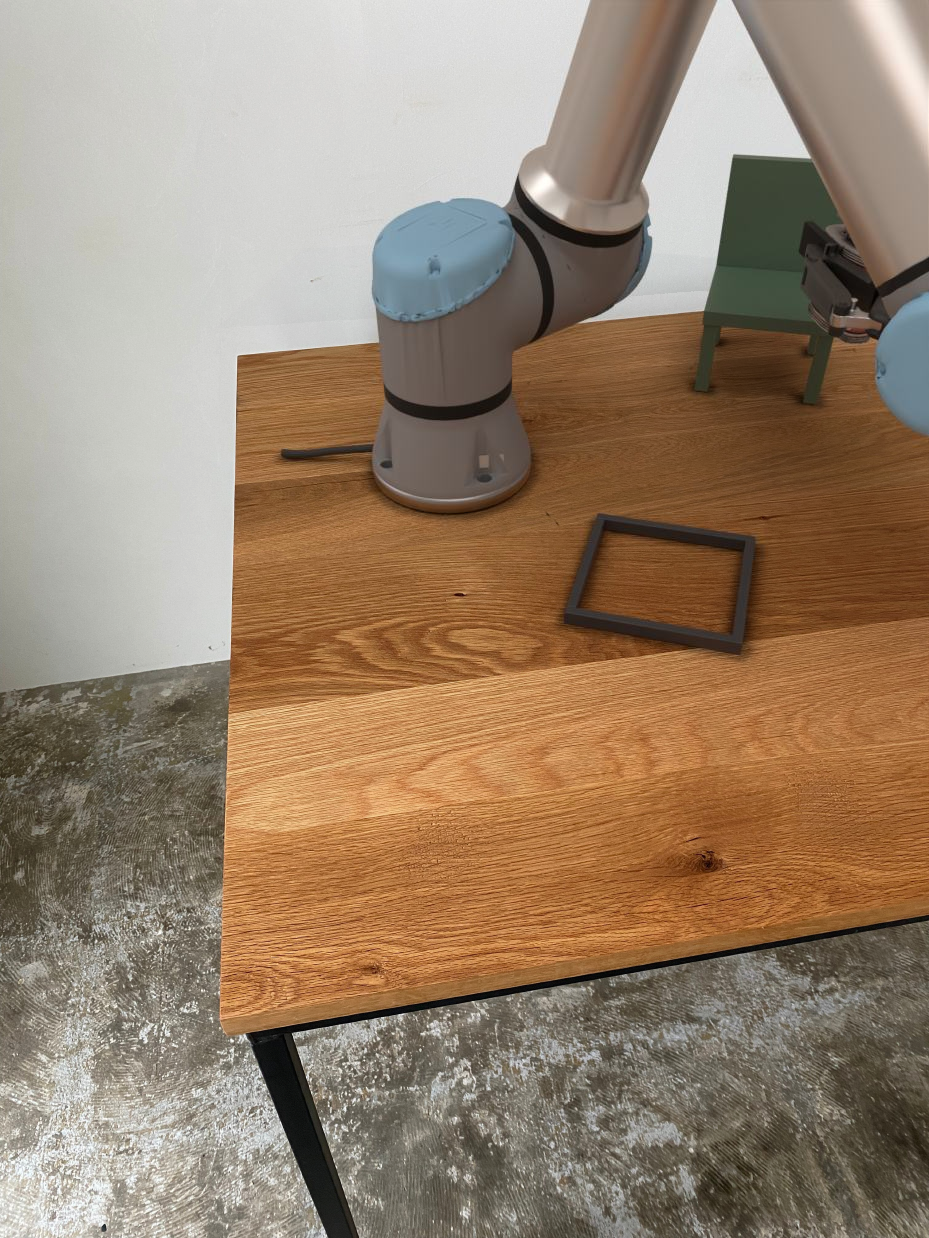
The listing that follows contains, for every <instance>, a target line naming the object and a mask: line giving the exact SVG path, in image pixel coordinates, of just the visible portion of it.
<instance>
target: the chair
mask: <svg viewBox="0 0 929 1238" xmlns="http://www.w3.org/2000/svg"><path fill="white" fill-rule="evenodd" d="M727 185H728V186H727V191H726V198H725V203H724V204H725V205H724V212H723V219H722V225H721V230H720V238H719V244H718V250H717V255H716V256H717V257H716V262H715V263H716V264H715V267H714V272H713V275H712V279H711V283H710V287H709V290H708V294H707V298H706V302H705V306H704V310H703V314H702V321H701V325H703V329H702V336H701V342H700V343H701V344H700V349H699V357H698V363H697V370H696V375H695V376H696V377H695V383H694V391H696V392H705V393H708V392H709V387H710V382H711V376H712V369H713V362H714V358H715V357H714V356H715V352H716V351H715V350H716V346H719V344H720V339H721V333H722V328H732V329H740V330H741V329H743V330H752V331H763V332H772V333H773V332H774V333H782V334H783V333H784V334H793V335H802V336H809V341H808V344H807V350H806V353H807V355H811V356H812V360H811V363H810V368H809V371H808V372H809V373H808V376H807V380H806V385H805V390H804V394H803V400H802V403H803V404H806V405H807V404H808V405H816V406H817V405H818V403H819V398H820V395H821V390H822V387H823V383H824V379H825V375H826V371H827V367H828V362H829V358H830V355H831V350H832V347H833V342H834V339H836V338H835V337H833V336H830V335H829V334H828V332H826V331H825V330H824V329H822V328H821V327H820V326H819V325H818V324H817V323H816V322H815V321H814V320H813V319H812V317H811V316H810V315H809V313H808V306H809V301H810V300H809V299H808V297H807V296H806V295H805V294H804V292H803V291H802V290H801V288H800V284H801V279H802V275H803V270H804V265H805V263H804V257H803V256H802V255H801V254H800V253H799V252H798V251H799V247H800V242H801V237H802V232H803V227H804V223H805V222H808V221H813V222H814V223H815V224H817V225H818V226H819V227H820V228H821V229H822V230H823V231H824V232H825V229H826V227H827V226H830V225H835V224H844V223H843V221H842V219H841V218H840V217H838V216H837V213H838V211H837V209H836V207H835V205H834V203H833V201H832V199H831V197H830V195H829V193H828V191H827V189H826V187H825V185H824V183H823V181H822V179H821V177H820V175H819V173H818V171H817V169H816V167H815V165H814V163H813V161H812V159H811V157H810V158H807V157H792V156H791V157H790V156H789V157H788V156H771V155H769V156H768V155H755V154H753V155H752V154H737V153H734V154H733V155H732V158H731V164H730V171H729V178H728V184H727Z"/></svg>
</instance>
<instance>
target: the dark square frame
mask: <svg viewBox="0 0 929 1238" xmlns="http://www.w3.org/2000/svg"><path fill="white" fill-rule="evenodd" d="M604 530H605V531H610V532H616V533H624V534H631V535H637V536H644V537H649V538H655V539H662V540H668V541H669V540H671V541H676V542H681V543H688V544H689V543H690V544H695V545H702V546H708V547H714V548H721V549H726V550H727V549H728V550H735V551H741V552H742V558H741V559H742V560H741V565H740V573H739V581H738V587H737V594H736V602H735V608H734V616H733V624H732V629H731V634H729V633H724V632H718V631H713V630H708V629H707V630H706V629H700V628H695V627H689V626H685V625H684V626H683V625H678V624H671V623H666V622H661V621H655V620H650V619H649V620H648V619H644V618H637V617H631V616H627V615H621V614H614V613H609V612H604V611H597V610H591V609H586V608H580V606H581V603H582V599H583V596H584V593H585V590H586V587H587V584H588V581H589V578H590V575H591V571H592V568H593V565H594V562H595V559H596V555H597V553H598V550H599V546H600V543H601V540H602V537H603V534H604V532H605V531H604ZM756 540H757V537H756V536H755V535H749V534H748V535H747V534H741V533H736V532H728V531H721V530H716V529H707V528H701V527H694V526H689V525H682V524H674V523H668V522H661V521H656V520H655V521H654V520H647V519H642V518H635V517H634V518H633V517H628V516H622V515H614V514H608V513H600V512H598V513H597V514H596V516H595V520H594V523H593V525H592V529H591V531H590V534H589V537H588V540H587V544H586V546H585V550H584V552H583V556H582V559H581V562H580V564H579V567H578V571H577V573H576V576H575V580H574V583H573V586H572V589H571V592H570V594H569V597H568V600H567V602H566V607H565V609H564V612H563V623H564V624H567V625H573V626H578V627H579V626H580V627H583V628H588V629H589V628H590V629H596V630H600V631H606V632H610V633H616V634H623V635H629V636H633V637H640V638H645V639H650V640H655V641H661V642H667V643H672V644H679V645H683V646H684V645H685V646H689V647H695V648H701V649H706V650H711V651H712V650H713V651H717V652H722V653H728V654H733V655H734V654H735V655H741V652H742V648H743V643H744V637H745V629H746V621H747V612H748V604H749V595H750V589H751V580H752V572H753V566H754V565H753V564H754V557H755V548H756Z"/></svg>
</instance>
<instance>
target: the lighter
mask: <svg viewBox="0 0 929 1238" xmlns="http://www.w3.org/2000/svg"><path fill="white" fill-rule="evenodd" d="M837 216H838V217H840V215H839V213H837ZM840 218H841V217H840ZM825 232H826V233H827V234H828V235H829V236H830V237H831V238H832V239H833V240H834V241H836V242H837V243H838V244H840V246H841V247H842V248H843V252H842V257H844V258H845V259H847V260H849V261H850V262H852V263H854V264H855V265H857V266H858V267H860V268H862V269H863V270H865V271H866V272H868V271H867V269H866V267H865V265H864V263H863V261H862V259H861V257H860V255H859V253H858V251H857V249H856V247H855V245H854V243H853V241H852V239H851V237H850V235H849V233H848V231H847V229H846V227H845V225H844V224H835V225H830V226H827V227H826V229H825ZM808 313H809V315H810V316H811V317H812V319H813V320H814V321H815V322H816V323H817V324H818V325H819V326H820V327H821V328H822V329H824V330H825V331H826V332H828V323H827V322H826V320H825V319H824V318H823V317H822V315H821V314H820V313H819V311H818V310H817V309H816V308H815V306H814V305H813V304H812V302H811V301H809V306H808ZM834 339H837V340H838V341H840V342H842V343H844V344H847V345H864V344H867V343H868V342H869V341H870V339H871V337H869V336H868V335H867V334H866V332H865V329H855V328H851V329H850V330H845V332H844V335H843V336H842V337H835V338H834Z"/></svg>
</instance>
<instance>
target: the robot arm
mask: <svg viewBox="0 0 929 1238" xmlns="http://www.w3.org/2000/svg"><path fill="white" fill-rule="evenodd" d="M731 1H732V4H733V6H734V8H735V10H736V11H737V14H738V16H739V18H740V21H742V24H743V26H744V28H745V30H746V32H747V34H748V36H749V37H750V38H749V39H750V40H751V42H752V44H753V45H754V47H755V50H756V52H757V53H758V54H757V55H758V56H759V58H760V60H761V61H762V64H763V66H764V68H765V69H766V72H767V73H768V75H769V78H770V79H771V81H772V82H771V83H773V86H774V88H775V89H776V91H777V94H778V95H779V98H780V99H781V102H782V103H783V105H784V108H785V109H786V111H787V113H788V115H789V117H790V120H791V121H792V124H793V125H794V127H795V129H796V132H797V134H798V135H799V137H800V139H801V141H802V144H803V145H804V147H805V149H806V151H807V153H808V155H809V157H810V159H812V161H813V163H814V165H815V167H816V169H817V171H818V173H819V175H820V177H821V179H822V181H823V183H824V185H825V187H826V189H827V191H828V193H829V195H830V197H831V199H832V201H833V203H834V205H835V207H836V209H837V211H838V213H839V215H840V217H841V219H842V221H843V223H844V225H845V227H846V229H847V231H848V233H849V235H850V237H851V239H852V241H853V243H854V245H855V247H856V249H857V251H858V253H859V255H860V257H861V259H862V261H863V263H864V265H865V267H866V269H867V271H868V272H866V271H865V270H863V269H862V268H860V267H858V266H857V265H855V264H854V263H852V262H850V261H849V260H847V259H845V258H844V257H842V252H843V248H842V247H841V246H840V244H838V243H837V242H836V241H834V240H833V239H832V238H831V237H830V236H829V235H828V234H827V233H826V232H824V231H823V230H822V229H821V228H820V227H819V226H818V225H817V224H815V223H814V222H813V221H808V222H805V223H804V227H803V232H802V237H801V242H800V247H799V251H798V252H799V253H800V254H801V255H802V256H803V257H804V263H805V265H804V270H803V275H802V279H801V284H800V288H801V290H802V291H803V292H804V294H805V295H806V296H807V297H808V299H809V300H810V301H811V302H812V304H813V305H814V306H815V308H816V309H817V310H818V311H819V313H820V314H821V315H822V317H823V318H824V319H825V320H826V322H827V323H828V334H829V335H830V336H833V337H842V336H843V335H844V332H845V330H850V329H851V328H855V329H865V332H866V334H867V335H868V336H869V337H870V339H873V340H876V341H877V343H876V347H875V351H874V359H875V361H874V370H875V378H874V382H875V385H876V389H877V392H878V394H879V396H880V399H881V400H882V402H883V404H884V405H885V407H886V408H887V409H888V411H889V412H890V413H891V414H892V415H893V416H894V417H895V418H896V420H898V421H899V422H900V423H902V424H903V425H904V426H906V428H909V430H912V431H914V432H915V433H918V434H920V435H922V436H926V437H929V0H731ZM717 2H718V0H589V4H588V5H587V10H586V13H585V16H584V19H583V23H582V26H581V29H580V33H579V35H578V39H577V42H576V46H575V48H574V52H573V55H572V58H571V61H570V65H569V67H568V71H567V74H566V77H565V81H564V84H563V86H562V90H561V93H560V96H559V100H558V104H557V106H556V109H555V112H554V116H553V119H552V122H551V126H550V129H549V132H548V135H547V139H546V142H545V144H543V145H540V146H538V147H535V148H534V149H532V150H530V151H529V152H527V154H526V155H525V156H524V157H523V158H522V161H521V163H520V165H519V168H518V172H517V174H516V178H515V182H514V185H513V189H512V191H511V192H512V193H511V196H510V198H509V200H508V202H507V203H506V204H505V205H504V206H500V205H498V204H497V203H494V202H492V201H489V200H486V199H480V198H472V197H471V198H470V197H466V198H465V197H456V198H451V199H450V200H449V201H446V202H442V201H440V200H435V201H431V202H427V203H424V204H421V205H418V206H415V207H413V208H410V209H408V210H407V211H404V212H403V213H400V214H399V215H397V216H396V217H395V218H393V219H391V221H389V222H388V223H387V224H386V225H385V226H384V227H383V228H382V229H381V231H380V232H379V234H378V235H377V237H376V240H375V241H374V245H373V250H372V254H371V260H372V261H371V262H372V281H371V296H372V300H373V303H374V306H375V314H376V315H375V316H376V324H377V325H376V327H377V336H378V345H379V353H380V354H379V355H380V356H379V357H380V364H381V374H382V381H383V382H382V383H383V394H384V402H383V406H382V410H381V414H380V418H379V422H378V426H377V430H376V434H375V437H374V441H373V443H369V444H355V445H353V444H351V445H339V446H329V447H321V448H319V447H318V448H313V449H312V448H311V449H289V448H282V449H280V456H281V458H291V459H304V458H305V459H306V458H307V459H309V458H317V457H319V458H320V457H326V456H335V455H349V454H350V455H351V454H366V453H371V466H372V472H373V474H372V475H373V479H374V482H375V485H376V486H377V487H378V489H379V490H380V491H381V492H382V493H383V494H384V495H385V496H386V497H387V498H389V499H391V500H392V501H394V502H395V503H398V504H400V505H402V506H404V507H407V508H410V509H413V510H417V511H421V512H427V513H436V514H459V513H460V514H461V513H467V512H474V511H478V510H482V509H486V508H489V507H492V506H495V505H498V504H499V503H502V502H504V501H506V500H507V499H509V498H511V497H512V496H513V495H516V493H517V492H519V491H520V490H521V489H523V487H524V485H525V484H526V483H527V481H528V479H529V478H530V474H531V471H532V450H531V449H532V448H531V445H530V441H529V437H528V434H527V431H526V429H525V426H524V423H523V420H522V418H521V415H520V412H519V409H518V407H517V403H516V401H515V398H514V396H513V355H514V353H515V352H516V351H517V350H519V349H522V348H524V347H526V346H528V345H531V344H533V343H535V342H537V341H538V340H541V339H544V338H546V337H548V336H550V335H553V334H555V333H558V332H561V331H562V330H566V329H567V328H569V327H572V326H574V325H577V324H579V323H582V322H584V321H586V320H588V319H593V318H596V317H598V316H600V315H601V316H602V314H604V313H606V312H608V311H610V310H611V309H613V308H614V307H615V305H616V304H619V303H620V302H622V301H623V300H625V299H626V298H627V297H629V296H630V295H631V294H632V293H633V292H634V291H635V290H636V288H637V287H638V286H639V285H640V283H641V281H642V280H643V279H644V276H645V274H646V272H647V269H648V267H649V263H650V260H651V256H652V250H653V236H652V235H650V234H649V231H648V228H649V227H650V226H651V225H652V222H651V217H650V214H649V209H650V197H649V193H648V191H647V188H646V187H645V184H644V183H643V179H644V176H645V174H646V171H647V169H648V167H649V164H650V162H651V160H652V157H653V155H654V153H655V150H656V148H657V145H658V143H659V140H660V138H661V135H662V133H663V131H664V129H665V126H666V124H667V121H668V119H669V116H670V114H671V112H672V109H673V107H674V105H675V102H676V100H677V97H678V95H679V93H680V90H681V88H682V86H683V83H684V81H685V79H686V76H687V73H688V71H689V69H690V66H691V65H692V61H693V60H694V57H695V55H696V52H697V50H698V47H699V45H700V43H701V40H702V38H703V35H704V34H705V31H706V28H707V26H708V25H709V21H710V18H711V16H712V14H713V12H714V10H715V7H716V5H717Z"/></svg>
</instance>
